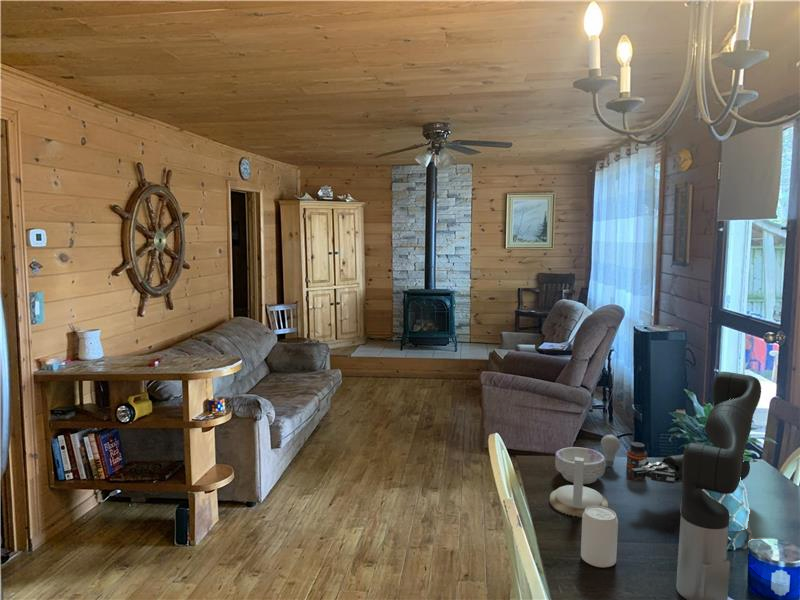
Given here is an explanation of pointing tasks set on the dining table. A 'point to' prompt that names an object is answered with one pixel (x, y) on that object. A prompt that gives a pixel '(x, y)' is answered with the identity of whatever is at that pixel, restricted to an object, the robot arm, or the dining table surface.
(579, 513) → the dial base
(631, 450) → the supplement bottle
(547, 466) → the dining table surface
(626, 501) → the dining table surface
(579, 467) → the dial
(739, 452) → the robot arm
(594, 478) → the paper bowls
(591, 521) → the beverage can
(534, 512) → the dining table surface
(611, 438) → the lightbulb
